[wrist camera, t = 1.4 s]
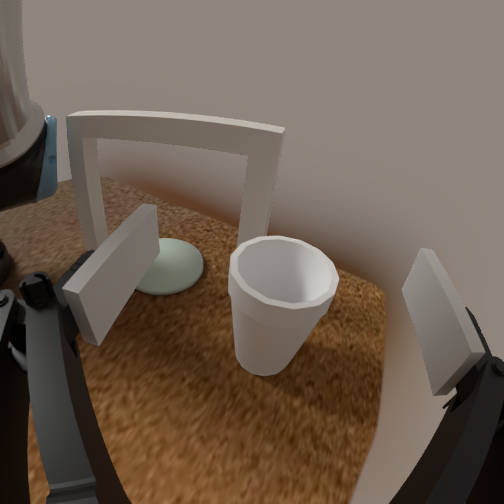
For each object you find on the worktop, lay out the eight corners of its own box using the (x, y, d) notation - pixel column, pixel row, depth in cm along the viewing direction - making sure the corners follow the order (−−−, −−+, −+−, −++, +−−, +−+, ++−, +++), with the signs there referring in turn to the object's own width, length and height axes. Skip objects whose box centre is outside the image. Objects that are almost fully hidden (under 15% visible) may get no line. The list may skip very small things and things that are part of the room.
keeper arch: (70, 266, 39) (41, 125, 26) (110, 226, 48) (100, 104, 35) (245, 321, 36) (275, 144, 23) (263, 264, 46) (289, 121, 33)
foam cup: (209, 334, 34) (212, 245, 26) (275, 313, 38) (297, 228, 30) (246, 401, 27) (266, 325, 20) (317, 368, 31) (359, 288, 24)
